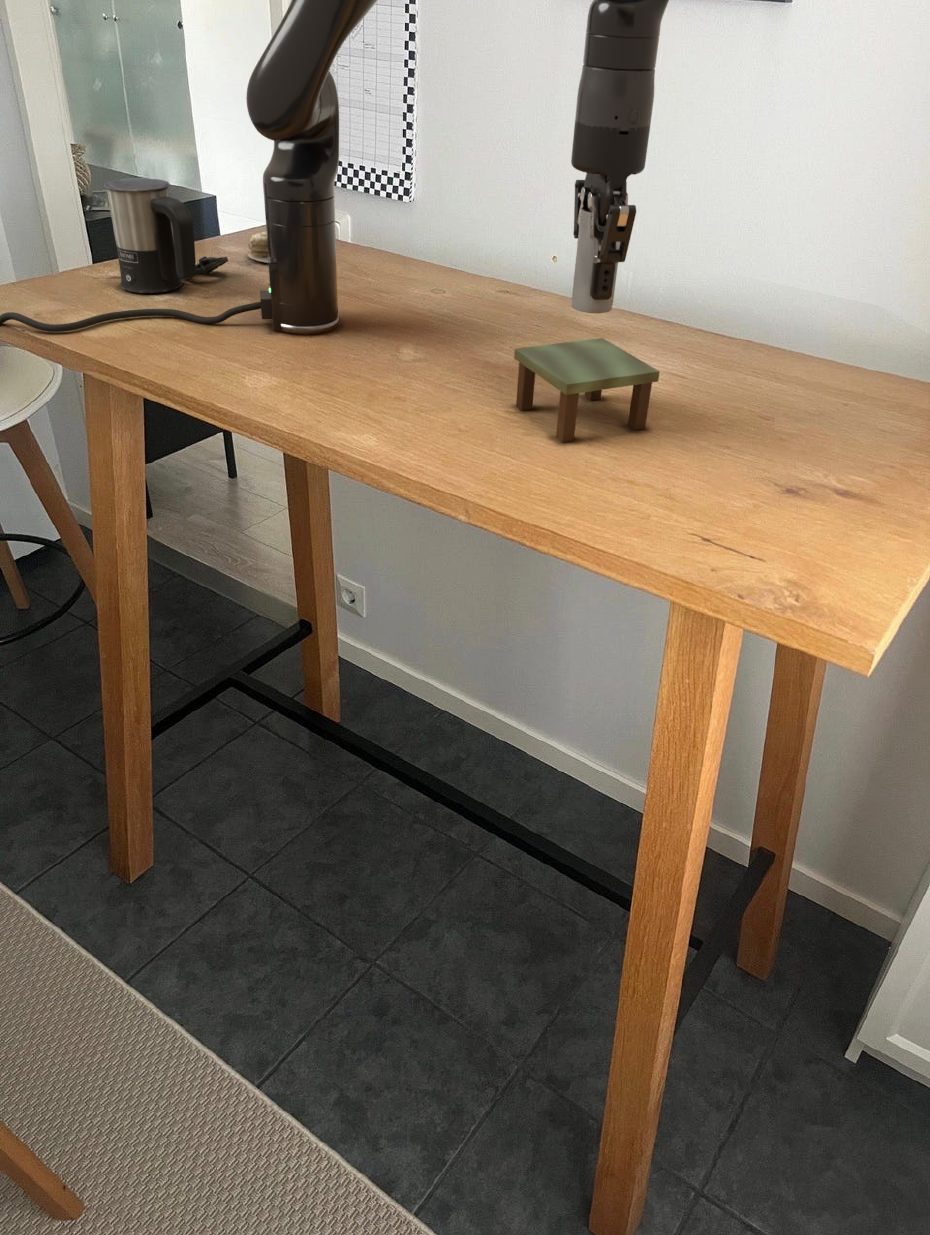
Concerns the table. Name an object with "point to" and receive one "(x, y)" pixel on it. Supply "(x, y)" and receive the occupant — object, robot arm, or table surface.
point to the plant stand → (584, 378)
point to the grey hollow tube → (587, 271)
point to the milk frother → (153, 236)
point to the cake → (258, 247)
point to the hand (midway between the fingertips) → (593, 291)
